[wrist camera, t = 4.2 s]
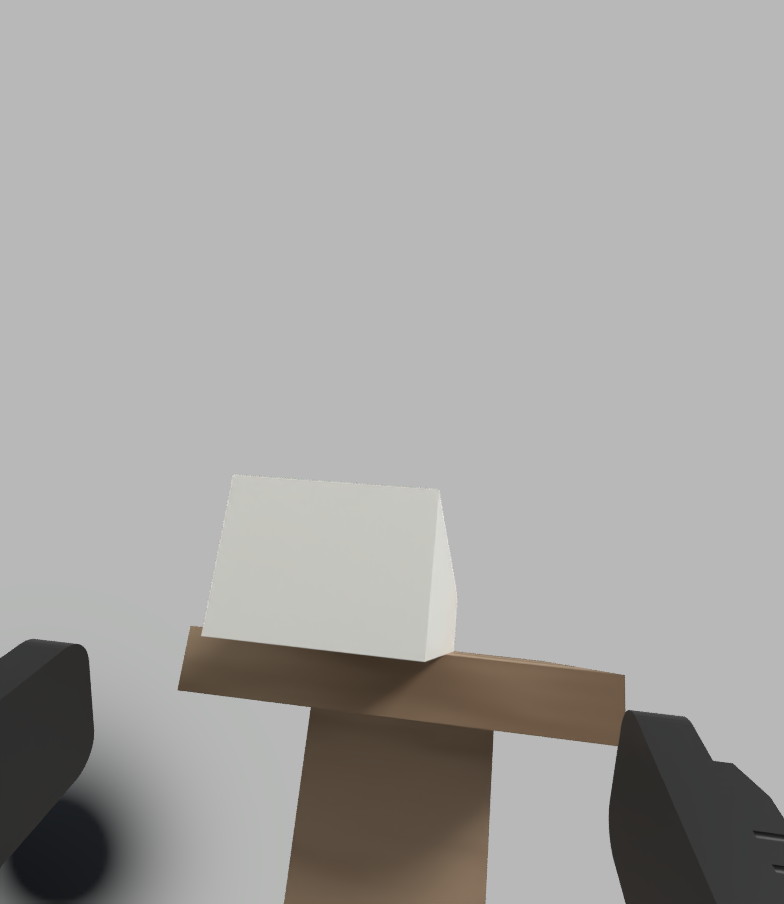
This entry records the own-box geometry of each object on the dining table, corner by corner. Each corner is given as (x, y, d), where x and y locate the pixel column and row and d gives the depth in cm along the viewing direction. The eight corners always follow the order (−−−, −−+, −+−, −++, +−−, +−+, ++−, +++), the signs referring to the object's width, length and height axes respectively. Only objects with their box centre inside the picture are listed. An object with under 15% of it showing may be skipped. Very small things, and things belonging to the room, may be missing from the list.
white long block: (388, 643, 35) (395, 580, 37) (454, 651, 35) (459, 586, 36) (200, 636, 10) (240, 435, 11) (424, 662, 10) (442, 448, 11)
